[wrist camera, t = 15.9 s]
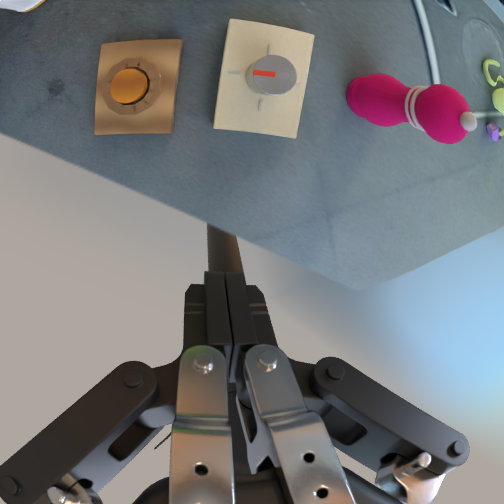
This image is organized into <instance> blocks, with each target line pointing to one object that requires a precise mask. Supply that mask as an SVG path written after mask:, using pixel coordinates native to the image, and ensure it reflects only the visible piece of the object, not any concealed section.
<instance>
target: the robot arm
mask: <svg viewBox="0 0 504 504" xmlns="http://www.w3.org/2000/svg"><path fill="white" fill-rule="evenodd" d="M172 423H173V424H172ZM168 424H172V431H171V433H170V434H169V435H168V436H167V437H166V438H165V439H164V440H163V441H162V442H160V443H159V444H158V445H157V446H156V447H155V448H154V449H156V448H157V447H158V446H159V445H161V444H162V443H163V442H164V441H165V440H166V439H168V437H170V435H171V448H170V449H171V450H170V471H169V473H170V474H169V477H166V478H163V479H161V480H159V481H157V482H155V483H154V484H152V485H150V486H149V487H148V488H147V489H146V490H144V491H143V492H142V494H141V495H140V496H139V497H138V498H137V499H136V500H135V501H134V502H133V504H432V503H433V501H434V499H435V497H436V495H437V493H438V491H439V488H440V486H441V483H442V481H443V479H444V476H445V474H446V473H447V472H449V471H451V470H453V469H454V468H456V467H458V466H460V465H462V464H463V463H464V462H465V461H466V460H467V458H468V456H469V443H468V440H467V439H466V437H465V436H464V435H463V434H461V433H459V432H458V431H456V430H454V429H452V428H451V427H449V426H447V425H446V424H444V423H442V422H441V421H439V420H437V419H435V418H434V417H432V416H430V415H429V414H427V413H425V412H423V411H422V410H420V409H419V408H417V407H415V406H414V405H412V404H411V403H409V402H407V401H406V400H404V399H403V398H401V397H399V396H398V395H396V394H394V393H393V392H391V391H390V390H388V389H387V388H385V387H383V386H382V385H380V384H379V383H377V382H376V381H374V380H373V379H371V378H369V377H368V376H366V375H365V374H363V373H362V372H360V371H359V370H357V369H356V368H354V367H353V366H351V365H350V364H348V363H346V362H345V361H343V360H342V359H339V358H336V357H325V358H322V359H321V360H319V361H318V362H317V364H316V365H315V364H310V363H304V362H298V361H295V360H293V359H290V358H289V357H287V355H286V354H285V353H284V352H283V351H282V350H281V349H279V347H278V345H277V342H276V338H275V334H274V331H273V327H272V324H271V320H270V316H269V314H268V310H267V306H266V302H265V298H264V295H263V293H262V292H261V291H260V290H259V289H258V287H257V286H256V285H246V284H245V279H244V275H243V272H224V274H223V272H208V271H205V272H204V284H191V285H190V286H189V288H188V289H187V291H186V292H185V308H184V339H183V350H182V353H181V354H180V356H179V357H178V358H177V359H176V360H175V361H173V362H172V363H169V364H167V365H164V366H160V367H156V368H151V367H150V366H148V365H146V364H145V363H142V362H139V361H129V362H125V363H123V364H121V365H119V366H118V367H116V368H115V369H114V370H113V371H112V372H111V373H110V374H108V375H107V376H106V377H105V378H104V379H102V380H101V381H100V382H99V383H98V384H96V385H95V386H94V387H93V388H92V389H91V390H89V391H88V392H87V393H86V394H85V395H83V396H82V397H81V398H80V399H79V400H78V401H76V402H75V403H74V404H73V405H72V406H71V407H69V408H68V409H67V410H66V411H65V412H63V413H62V414H61V415H60V416H59V417H57V418H56V419H55V420H54V421H53V422H52V423H50V424H49V425H48V426H47V427H46V428H45V429H43V430H42V431H41V432H40V433H39V434H37V435H36V436H35V437H34V438H33V439H32V440H30V441H29V442H28V443H27V444H26V445H25V446H23V447H22V448H21V449H20V450H19V451H17V452H16V453H15V454H14V455H13V456H11V457H10V458H9V459H8V460H7V461H6V462H4V463H3V464H2V465H1V466H0V497H1V498H2V499H3V501H4V502H6V503H7V504H103V502H102V500H101V498H100V497H99V496H98V494H97V493H98V492H99V491H100V490H101V489H102V488H103V487H104V486H105V485H106V484H107V483H109V482H110V481H111V479H113V478H114V477H115V476H116V475H117V474H118V473H119V472H120V471H121V470H122V469H123V468H124V467H125V466H126V465H127V464H128V463H129V462H130V461H131V460H132V459H133V458H134V457H135V456H136V455H137V454H138V453H139V452H140V451H141V450H142V449H143V448H144V447H145V446H146V445H147V444H148V443H149V442H150V441H151V440H152V439H153V438H154V437H155V436H156V435H157V434H158V432H159V431H160V430H161V429H162V428H163V427H164V426H165V425H168ZM334 447H336V448H337V449H339V450H340V451H342V452H344V453H345V454H347V455H348V456H350V457H351V458H353V459H355V460H356V461H358V462H360V463H361V464H363V465H365V466H366V467H368V468H370V469H371V470H373V471H375V472H377V476H376V478H375V484H376V485H377V486H379V487H381V488H382V489H383V490H384V491H383V490H381V489H380V488H378V487H376V486H375V485H373V484H371V483H370V482H368V481H366V480H365V479H363V478H362V477H360V476H359V475H357V474H355V473H354V472H352V471H351V470H349V469H347V468H345V467H343V466H341V464H340V461H339V459H338V456H337V454H336V451H335V449H334Z"/></svg>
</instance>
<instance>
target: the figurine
mask: <svg viewBox="0 0 504 504" xmlns="http://www.w3.org/2000/svg"><path fill="white" fill-rule="evenodd" d="M489 64H493V65H496V66H497V67H500V64H499V63H498V62H496V61H494V60H485V61H484V63H483V72H484V74H485V77H486V79H487V81H488V82H489V83H490V84H491V85H492V86H496V84H497V82H498V81H501V82H502V83H503V84H504V78H502V77H501V76H498V77H497V81H496V83H495V82H494V81H493V80H492V79H491V77H490V75H489V72H488V65H489ZM492 101H493V104H494V107H495V108H496V109H498V110H499V111H500V112H501V113H502V114H503V115H504V88H500V89H496V90H495V91H494V92H493V93H492ZM487 132H488V135H489V136H490V137H491V139H492V140H496V141H499V140H500V139H501V136H502V135H504V128H503V129H502V130H501V128H498V127H497V125H496V124H495V122H494V121H493V122H491V123H489V124H487Z"/></svg>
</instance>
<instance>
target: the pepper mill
mask: <svg viewBox="0 0 504 504" xmlns="http://www.w3.org/2000/svg"><path fill="white" fill-rule="evenodd" d="M346 95H347V102H348V105H349V106H350V108H351V110H352V111H353V112H354V113H355V114H357V115H358V116H360V117H364V118H366V119H367V120H368V121H370V122H371V123H373V124H376V125H380V126H394V125H397V124H399V123H401V122H409V123H411V125H412V126H413V127H415V128H416V129H419V130H422V131H425V132H426V133H427V134H428V135H429V136H430V137H431V138H433V139H434V140H436V141H438V142H441V143H445V144H453V143H457V142H459V141H461V140H462V139H463V138H464V137H465V136H466V134H467V133H468V131H473V130H475V129H476V127H477V120H476V118H475V116H474V115H473V114H472V113H470V110H469V107H468V104H467V102H466V100H465V99H464V97H463V96H462V95H461V94H460V93H459V92H458V91H456V90H455V89H453V88H452V87H449V86H446V85H442V84H435V85H432V86H430V87H425V86H415V87H413V88H409V87H406V86H405V85H403V84H402V83H401V82H400V81H398V80H397V79H395V78H393V77H391V76H389V75H386V74H371V75H369V76H367V77H358V78H356V79H354V80H353V81H352V82H351V83H350V84H349V86H348V89H347V94H346Z"/></svg>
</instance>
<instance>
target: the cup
mask: <svg viewBox="0 0 504 504" xmlns="http://www.w3.org/2000/svg"><path fill="white" fill-rule="evenodd" d="M44 1H45V0H0V8H5V9H12V10H16V11H18V12H28V11H30V10H33V9H35V8H36V7H38V6H39V5H40V4H42V3H43V2H44Z"/></svg>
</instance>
